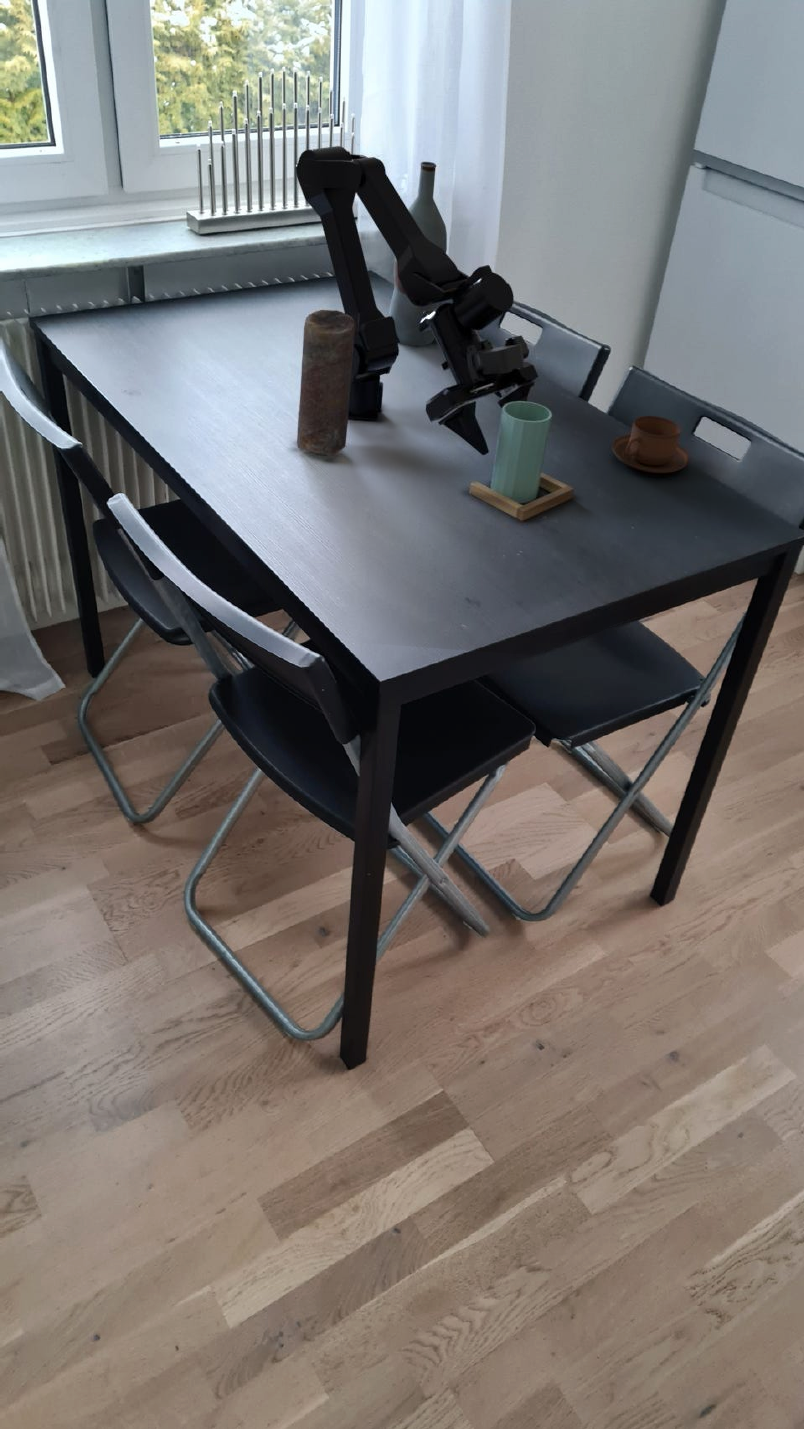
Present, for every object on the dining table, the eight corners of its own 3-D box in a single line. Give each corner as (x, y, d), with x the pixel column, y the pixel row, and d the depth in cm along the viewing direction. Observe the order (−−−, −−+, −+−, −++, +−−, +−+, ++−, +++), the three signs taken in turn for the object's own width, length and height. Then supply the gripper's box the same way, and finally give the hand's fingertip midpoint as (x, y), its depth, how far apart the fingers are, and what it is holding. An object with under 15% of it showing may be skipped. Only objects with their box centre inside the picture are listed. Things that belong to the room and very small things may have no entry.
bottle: (379, 339, 205) (392, 163, 187) (398, 325, 212) (413, 153, 193) (426, 351, 203) (444, 174, 184) (443, 336, 210) (463, 163, 191)
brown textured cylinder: (354, 446, 170) (362, 315, 157) (336, 465, 164) (343, 331, 152) (308, 435, 172) (312, 305, 159) (288, 454, 166) (292, 320, 154)
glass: (491, 501, 160) (504, 419, 152) (488, 479, 165) (500, 399, 158) (539, 505, 160) (554, 424, 153) (534, 483, 166) (549, 403, 158)
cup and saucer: (670, 488, 168) (679, 450, 164) (598, 463, 173) (606, 426, 169) (697, 461, 177) (707, 425, 173) (628, 438, 181) (636, 402, 177)
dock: (469, 493, 161) (470, 483, 160) (520, 472, 168) (521, 462, 167) (522, 521, 156) (523, 511, 155) (572, 498, 163) (574, 488, 162)
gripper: (450, 331, 147) (500, 440, 148) (539, 306, 158) (585, 407, 159) (402, 368, 156) (450, 471, 157) (490, 342, 167) (534, 438, 168)
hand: (507, 445), depth 160 cm, fingers open, 9 cm apart
